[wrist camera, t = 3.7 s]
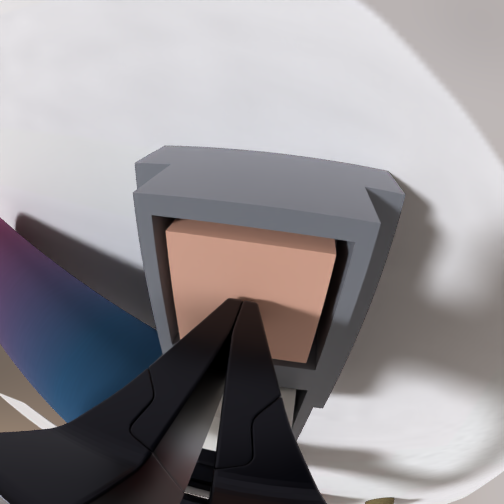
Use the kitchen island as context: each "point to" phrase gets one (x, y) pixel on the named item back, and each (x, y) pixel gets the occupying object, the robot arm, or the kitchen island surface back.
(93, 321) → the cup
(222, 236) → the terracotta key
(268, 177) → the key base
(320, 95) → the kitchen island surface
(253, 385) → the robot arm
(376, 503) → the olive game pawn
